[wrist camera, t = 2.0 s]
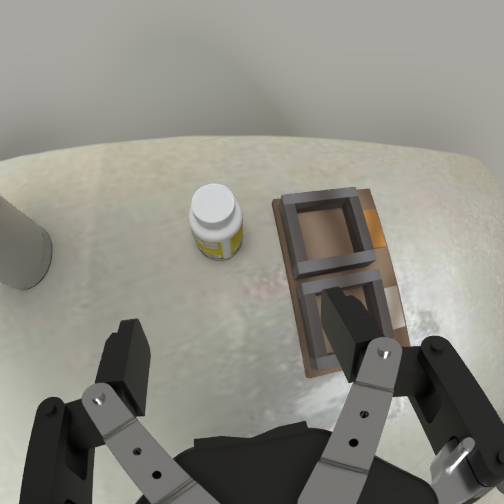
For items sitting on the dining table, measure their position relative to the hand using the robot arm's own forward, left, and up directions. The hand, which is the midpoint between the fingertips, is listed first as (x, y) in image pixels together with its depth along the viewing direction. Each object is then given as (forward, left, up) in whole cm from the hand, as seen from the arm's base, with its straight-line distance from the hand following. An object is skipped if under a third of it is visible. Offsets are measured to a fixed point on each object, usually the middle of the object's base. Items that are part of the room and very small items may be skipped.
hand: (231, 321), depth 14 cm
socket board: (+13, +5, -22) cm, 26 cm away
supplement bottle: (0, +12, -22) cm, 25 cm away
